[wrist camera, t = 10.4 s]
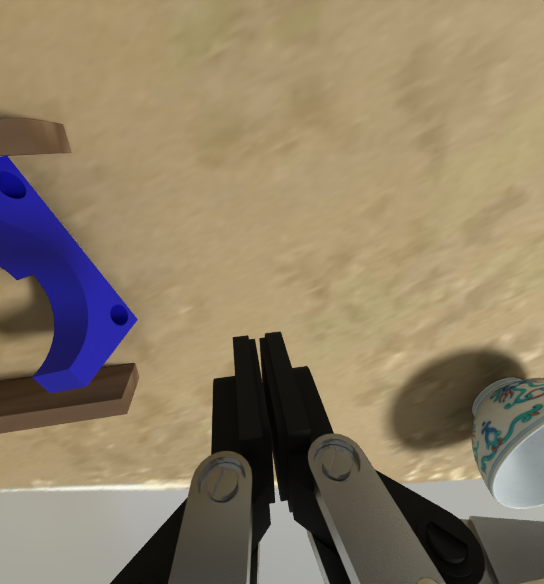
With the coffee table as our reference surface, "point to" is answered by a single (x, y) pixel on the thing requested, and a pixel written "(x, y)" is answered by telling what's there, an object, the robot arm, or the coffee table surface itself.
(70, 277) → the cable clip
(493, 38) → the coffee table surface
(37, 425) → the dock bay
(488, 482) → the chinaware
